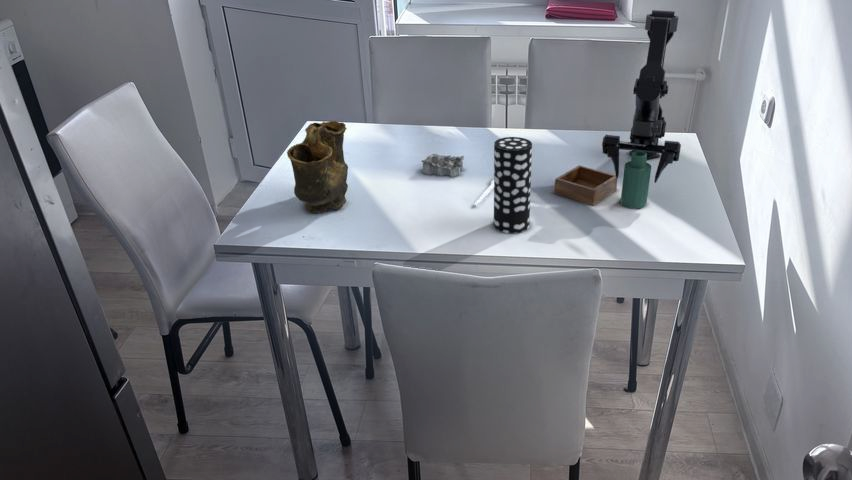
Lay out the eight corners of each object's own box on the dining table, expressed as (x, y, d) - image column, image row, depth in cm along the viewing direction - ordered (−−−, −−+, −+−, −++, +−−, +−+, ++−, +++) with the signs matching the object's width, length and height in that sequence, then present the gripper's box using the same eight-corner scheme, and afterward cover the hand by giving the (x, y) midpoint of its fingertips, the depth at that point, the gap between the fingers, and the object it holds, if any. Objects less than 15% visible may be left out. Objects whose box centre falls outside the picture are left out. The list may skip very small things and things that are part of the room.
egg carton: (420, 174, 189) (419, 160, 187) (429, 164, 195) (428, 150, 193) (458, 178, 187) (457, 164, 184) (465, 167, 193) (465, 153, 191)
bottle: (635, 196, 178) (641, 147, 172) (651, 205, 174) (658, 156, 167) (615, 200, 176) (621, 151, 169) (630, 210, 171) (637, 160, 164)
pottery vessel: (317, 182, 183) (307, 108, 173) (358, 183, 183) (351, 109, 173) (288, 225, 162) (275, 143, 152) (335, 227, 162) (325, 145, 151)
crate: (578, 179, 187) (579, 165, 185) (616, 190, 181) (617, 175, 179) (554, 193, 179) (555, 178, 177) (593, 205, 173) (594, 190, 171)
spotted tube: (533, 220, 166) (536, 139, 155) (523, 235, 159) (525, 152, 149) (500, 215, 168) (501, 135, 158) (488, 230, 161) (488, 147, 151)
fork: (468, 206, 172) (468, 199, 171) (496, 176, 188) (496, 170, 187) (481, 208, 171) (480, 201, 170) (508, 178, 187) (508, 171, 186)
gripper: (606, 102, 168) (596, 162, 164) (686, 109, 164) (677, 170, 160) (607, 124, 178) (598, 180, 175) (682, 131, 174) (674, 189, 171)
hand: (636, 180), depth 170 cm, fingers open, 9 cm apart
